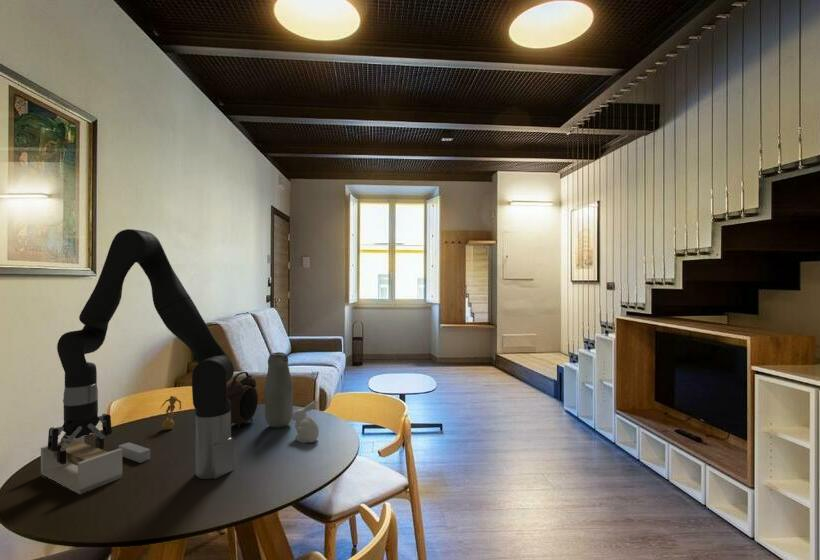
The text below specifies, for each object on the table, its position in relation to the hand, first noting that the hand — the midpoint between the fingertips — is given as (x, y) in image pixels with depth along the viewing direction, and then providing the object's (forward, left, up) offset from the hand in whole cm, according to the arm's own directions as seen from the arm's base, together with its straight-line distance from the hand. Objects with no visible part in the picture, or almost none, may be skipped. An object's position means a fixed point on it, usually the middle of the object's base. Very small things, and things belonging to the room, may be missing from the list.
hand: (81, 457), depth 113 cm
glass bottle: (-21, -54, -6) cm, 58 cm away
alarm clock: (-7, -49, -6) cm, 50 cm away
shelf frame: (0, 0, -5) cm, 5 cm away
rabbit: (-38, -50, -6) cm, 63 cm away
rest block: (0, -14, -5) cm, 15 cm away
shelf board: (0, 0, 0) cm, 0 cm away
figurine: (+14, -34, -6) cm, 37 cm away
